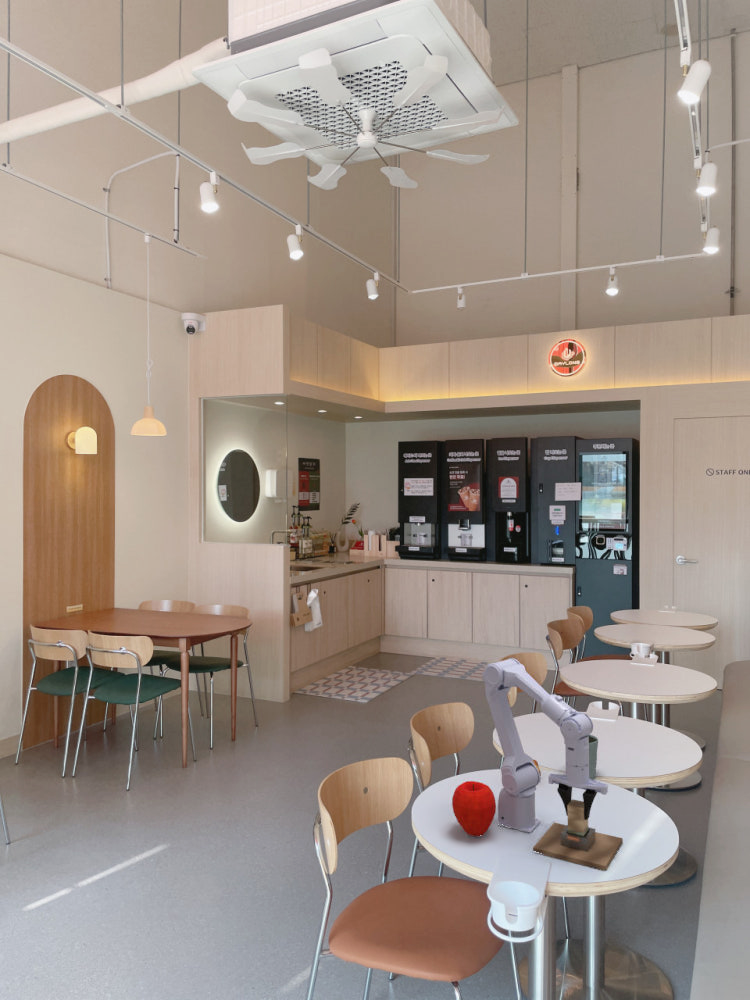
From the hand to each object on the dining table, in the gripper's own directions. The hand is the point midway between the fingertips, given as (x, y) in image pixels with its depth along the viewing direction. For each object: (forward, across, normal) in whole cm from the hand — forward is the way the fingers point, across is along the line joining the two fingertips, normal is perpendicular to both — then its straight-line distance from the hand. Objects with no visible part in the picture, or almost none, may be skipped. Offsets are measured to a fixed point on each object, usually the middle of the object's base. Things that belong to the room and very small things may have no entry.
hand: (577, 816), depth 190 cm
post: (+4, 0, 0) cm, 4 cm away
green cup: (+8, +13, -46) cm, 48 cm away
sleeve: (+7, 0, 0) cm, 7 cm away
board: (+8, 0, 0) cm, 8 cm away
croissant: (+8, +28, -35) cm, 45 cm away
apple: (+8, +26, +6) cm, 28 cm away
